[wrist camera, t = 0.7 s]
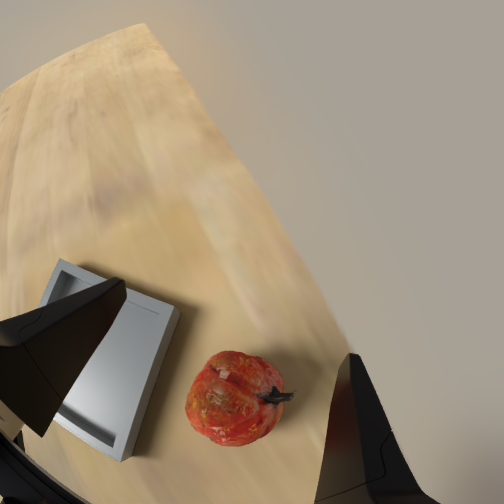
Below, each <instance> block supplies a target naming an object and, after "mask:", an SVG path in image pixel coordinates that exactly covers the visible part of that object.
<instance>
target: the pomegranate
mask: <svg viewBox="0 0 504 504" xmlns="http://www.w3.org/2000/svg"><path fill="white" fill-rule="evenodd" d="M283 387H284V386H283V379H282V377H281V375H280V374H279V372H278V371H277V369H275V368H274V367H273V366H272V365H271V364H269V363H268V362H267V361H265V360H264V359H263V358H260V357H253V356H249V355H246V354H244V353H242V352H235V351H223V352H220V353H218V354H216V355H214V356H212V357H211V358H210V359H209V360H208V361H207V363H206V364H205V366H204V368H203V369H202V370H201V371H200V372H199V373H198V375H197V376H196V378H195V381H194V383H193V384H192V387H191V389H190V391H189V393H188V396H187V401H186V405H185V410H186V414H187V417H188V419H189V421H190V423H191V426H192V427H193V428H194V429H195V430H196V431H197V432H199V433H201V434H203V435H205V436H206V437H209V438H210V439H211V440H212V441H213V442H214V443H217V444H219V445H221V446H243V445H247V444H249V443H252V442H254V441H256V440H257V439H259V438H262V437H264V436H265V435H267V434H268V433H269V432H270V431H271V430H272V429H273V428H274V427H275V425H276V424H277V423H278V422H279V421H280V419H281V416H282V414H283V411H284V405H283V401H290V400H291V399H292V398H293V397H294V394H295V392H296V390H295V391H294V392H292V393H282V392H283Z"/></svg>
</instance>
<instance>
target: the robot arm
mask: <svg viewBox="0 0 504 504" xmlns="http://www.w3.org/2000/svg"><path fill="white" fill-rule="evenodd" d="M126 299H127V291H126V284H125V281H124V280H123V279H121V278H118V277H113V278H111V279H108V280H106V281H103V282H101V283H98V284H96V285H93V286H91V287H88V288H86V289H83V290H81V291H79V292H76V293H74V294H71V295H69V296H66V297H64V298H61V299H59V300H57V301H54V302H52V303H49V304H47V305H45V306H42V307H40V308H37V309H35V310H32V311H30V312H27V313H24V314H21V315H19V316H16V317H12V318H9V319H6V320H3V321H0V495H1V496H2V497H3V499H2V501H1V503H0V504H91V503H89V502H88V501H86V500H85V499H83V498H82V497H80V496H79V495H77V494H76V493H74V492H73V491H72V490H70V489H69V488H67V487H66V486H65V485H63V484H62V483H61V482H59V481H58V480H57V479H55V478H54V477H53V476H52V475H50V474H49V473H48V472H47V471H45V470H44V469H43V468H42V467H41V466H39V465H38V464H37V463H36V462H35V461H34V460H32V459H31V458H30V457H29V456H28V455H27V454H26V453H25V448H24V442H23V435H22V430H21V429H22V427H23V426H24V424H26V425H27V426H28V427H29V428H31V429H32V430H33V431H34V432H35V433H36V434H38V435H39V436H40V437H41V438H42V437H43V436H44V434H45V432H46V431H47V429H48V427H49V425H50V424H51V422H52V420H53V418H54V417H55V415H56V413H57V411H58V410H59V408H60V406H61V405H62V403H63V401H64V399H65V398H66V396H67V394H68V393H69V391H70V389H71V388H72V386H73V385H74V383H75V381H76V380H77V378H78V377H79V375H80V373H81V372H82V370H83V369H84V367H85V366H86V364H87V363H88V361H89V359H90V358H91V356H92V355H93V353H94V352H95V350H96V349H97V347H98V346H99V344H100V343H101V341H102V340H103V338H104V337H105V335H106V334H107V333H108V331H109V329H110V328H111V326H112V324H113V323H114V321H115V319H116V317H117V315H118V313H119V312H120V310H121V308H122V306H123V304H124V303H125V301H126ZM391 430H392V429H391V427H390V424H389V422H388V419H387V417H386V414H385V412H384V410H383V407H382V405H381V403H380V400H379V398H378V396H377V393H376V391H375V389H374V386H373V384H372V382H371V379H370V377H369V375H368V373H367V370H366V368H365V366H364V364H363V362H362V359H361V357H360V356H359V355H358V354H354V353H348V354H347V356H346V357H345V359H344V361H343V362H342V364H341V365H340V367H339V370H338V375H337V380H336V384H335V388H334V393H333V397H332V401H331V406H330V413H329V420H328V428H327V435H326V442H325V448H324V454H323V460H322V466H321V471H320V477H319V482H318V487H317V492H316V497H315V501H314V502H315V503H314V504H440V503H438V502H437V501H435V500H434V499H432V498H431V497H429V496H428V495H426V494H425V493H424V492H423V491H422V490H421V488H420V487H419V485H418V484H417V482H416V480H415V478H414V476H413V474H412V472H411V470H410V468H409V466H408V464H407V463H406V461H405V459H404V457H403V455H402V453H401V450H400V448H399V446H398V444H397V441H396V439H395V436H394V434H393V432H392V431H391Z"/></svg>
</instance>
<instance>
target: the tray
mask: <svg viewBox="0 0 504 504" xmlns="http://www.w3.org/2000/svg"><path fill="white" fill-rule="evenodd" d="M106 280H107V279H105V278H103V277H100V276H98V275H96V274H93V273H91V272H89V271H87V270H84V269H82V268H80V267H78V266H76V265H73V264H71V263H69V262H67V261H65V260H63V259H61V258H59V260H58V262H57V265H56V267H55V269H54V271H53V273H52V275H51V278H50V280H49V282H48V284H47V287H46V289H45V291H44V294H43V296H42V299H41V301H40V304H39V306H38V308H40V307H42V306H45V305H47V304H49V303H52V302H54V301H57V300H59V299H61V298H64V297H66V296H69V295H71V294H74V293H76V292H79V291H81V290H83V289H86V288H88V287H91V286H93V285H96V284H98V283H101V282H103V281H106ZM126 291H127V299H126V301H125V303H124V304H123V306H122V308H121V310H120V312H119V313H118V315H117V317H116V319H115V321H114V323H113V324H112V326H111V328H110V329H109V331H108V333H107V334H106V335H105V337H104V338H103V340H102V341H101V343H100V344H99V346H98V347H97V349H96V350H95V352H94V353H93V355H92V356H91V358H90V359H89V361H88V363H87V364H86V366H85V367H84V369H83V370H82V372H81V373H80V375H79V377H78V378H77V380H76V381H75V383H74V385H73V386H72V388H71V389H70V391H69V393H68V394H67V396H66V398H65V399H64V401H63V403H62V405H61V406H60V408H59V410H58V411H57V413H56V415H55V417H54V418H53V420H55V421H56V422H57V423H59V424H60V425H61V426H63V427H64V428H66V429H67V430H68V431H70V432H71V433H73V434H74V435H76V436H77V437H79V438H80V439H82V440H83V441H85V442H86V443H88V444H89V445H91V446H93V447H94V448H96V449H97V450H99V451H101V452H102V453H104V454H106V455H108V456H109V457H111V458H113V459H115V460H117V461H118V462H122V461H124V460H126V459H128V458H130V457H131V456H132V452H133V449H134V446H135V443H136V440H137V437H138V433H139V430H140V427H141V424H142V421H143V418H144V415H145V412H146V409H147V406H148V403H149V400H150V397H151V394H152V391H153V388H154V386H155V383H156V380H157V377H158V374H159V371H160V369H161V366H162V363H163V360H164V357H165V355H166V352H167V349H168V347H169V344H170V341H171V338H172V336H173V333H174V330H175V328H176V325H177V323H178V320H179V317H180V315H181V312H180V311H179V310H178V309H177V308H176V307H175V306H173V305H170V304H167V303H165V302H162V301H159V300H157V299H154V298H152V297H149V296H146V295H144V294H141V293H139V292H136V291H134V290H131V289H129V288H126Z"/></svg>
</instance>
